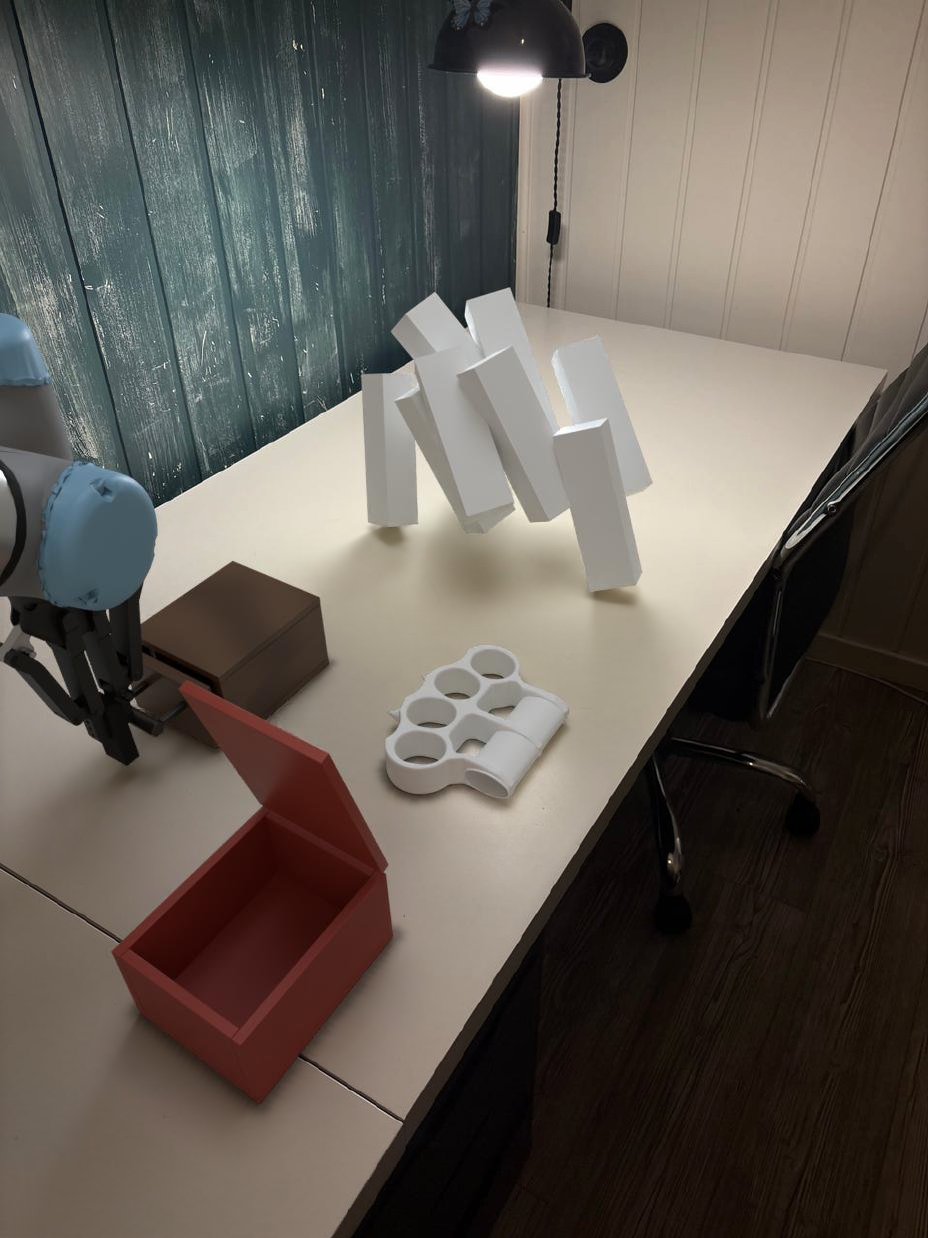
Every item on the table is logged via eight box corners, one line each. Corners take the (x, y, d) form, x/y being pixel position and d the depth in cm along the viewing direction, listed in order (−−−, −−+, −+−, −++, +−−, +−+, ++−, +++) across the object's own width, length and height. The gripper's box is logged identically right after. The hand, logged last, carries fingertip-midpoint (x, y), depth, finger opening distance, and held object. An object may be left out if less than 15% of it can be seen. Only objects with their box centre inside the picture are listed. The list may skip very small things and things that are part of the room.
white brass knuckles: (490, 833, 77) (349, 766, 83) (583, 703, 89) (454, 653, 95) (490, 806, 75) (346, 740, 81) (585, 678, 86) (454, 628, 93)
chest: (260, 1104, 60) (240, 1046, 55) (139, 1012, 65) (110, 951, 60) (393, 936, 69) (386, 873, 64) (278, 867, 74) (264, 804, 69)
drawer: (180, 778, 81) (163, 723, 76) (102, 732, 85) (82, 678, 81) (305, 671, 92) (296, 617, 87) (230, 635, 96) (218, 583, 92)
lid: (320, 763, 52) (329, 752, 52) (177, 689, 57) (186, 679, 57) (382, 874, 64) (389, 864, 64) (259, 804, 69) (266, 796, 69)
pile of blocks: (679, 549, 118) (643, 266, 111) (649, 602, 91) (599, 231, 84) (430, 578, 130) (384, 325, 123) (337, 633, 103) (271, 311, 96)
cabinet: (235, 746, 85) (218, 677, 80) (149, 699, 90) (127, 632, 85) (329, 663, 94) (320, 596, 88) (246, 625, 99) (232, 560, 93)
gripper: (-6, 596, 61) (91, 823, 75) (145, 506, 69) (206, 726, 84) (-73, 561, 64) (33, 785, 79) (80, 479, 72) (150, 696, 87)
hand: (122, 755), depth 81 cm, fingers closed
